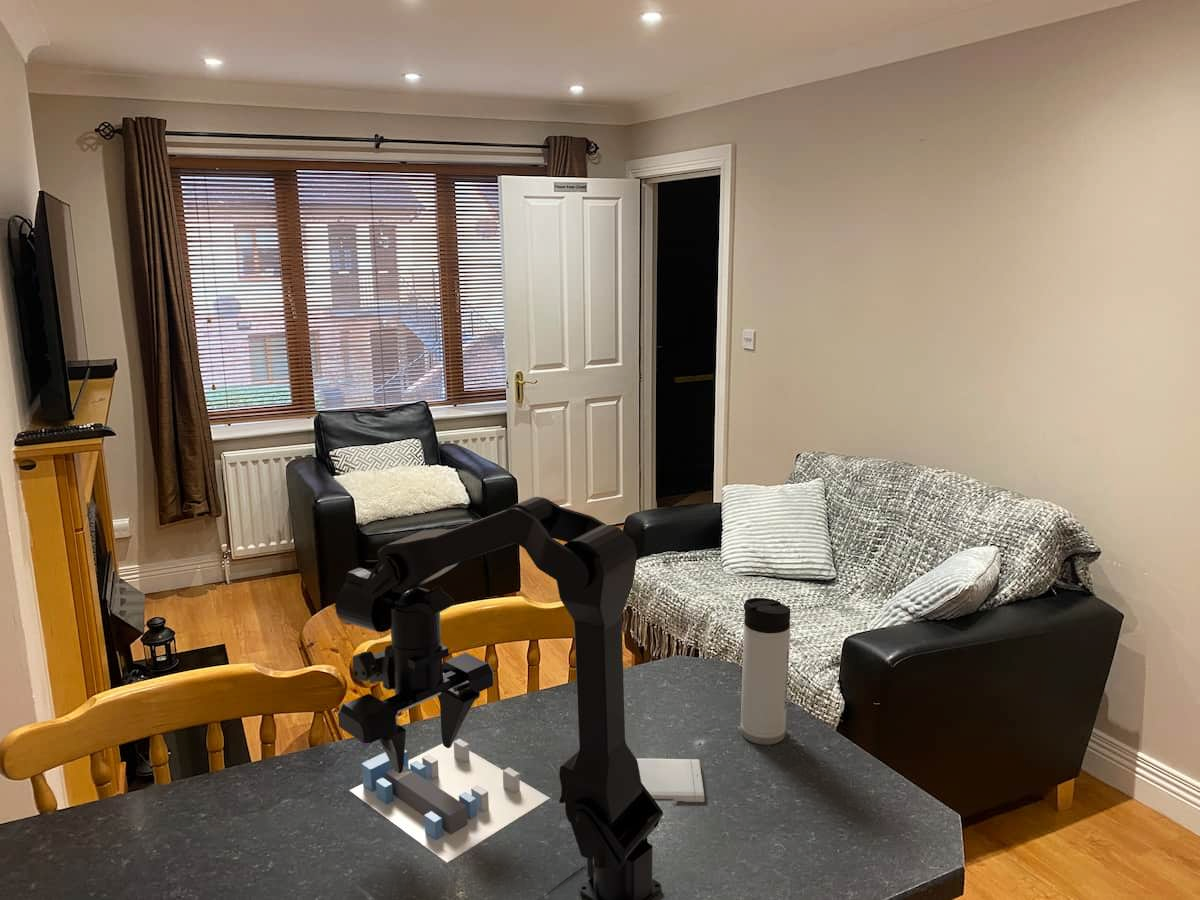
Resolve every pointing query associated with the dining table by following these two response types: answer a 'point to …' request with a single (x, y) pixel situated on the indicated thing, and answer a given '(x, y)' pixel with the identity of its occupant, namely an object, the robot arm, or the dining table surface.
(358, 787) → the board
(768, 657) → the travel mug
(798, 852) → the dining table surface
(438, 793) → the dark grey bar
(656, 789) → the hard drive
